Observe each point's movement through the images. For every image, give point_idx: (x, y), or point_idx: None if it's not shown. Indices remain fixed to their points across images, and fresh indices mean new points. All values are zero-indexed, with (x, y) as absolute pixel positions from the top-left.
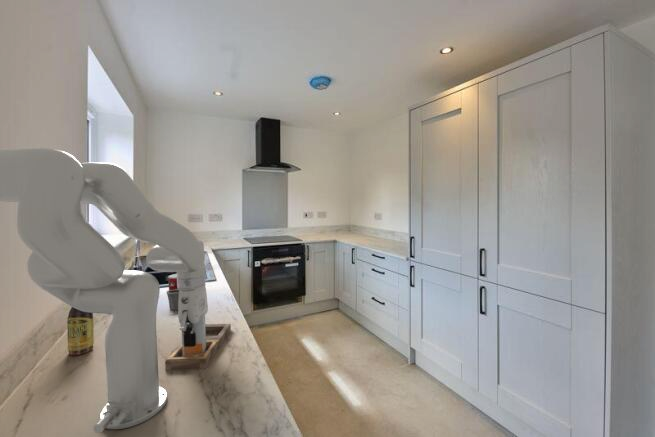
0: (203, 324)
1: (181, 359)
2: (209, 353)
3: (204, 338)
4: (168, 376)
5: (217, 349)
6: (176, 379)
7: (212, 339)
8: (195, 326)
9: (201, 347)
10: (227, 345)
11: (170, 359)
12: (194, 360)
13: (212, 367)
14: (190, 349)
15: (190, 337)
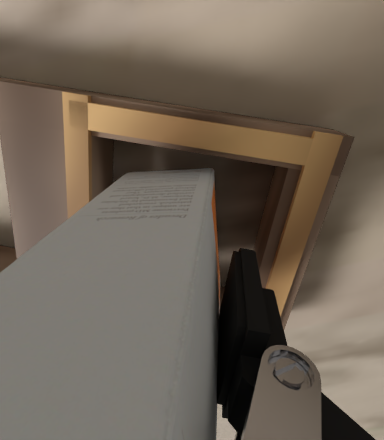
0: (162, 299)
1: (290, 284)
2: (258, 124)
3: (158, 200)
4: (333, 294)
5: (114, 95)
6: (379, 257)
7: (40, 146)
8: (208, 387)
9: (213, 197)
10: (50, 31)
11: None
12: (327, 210)
13: (331, 84)
14: (218, 263)
15: (285, 338)
